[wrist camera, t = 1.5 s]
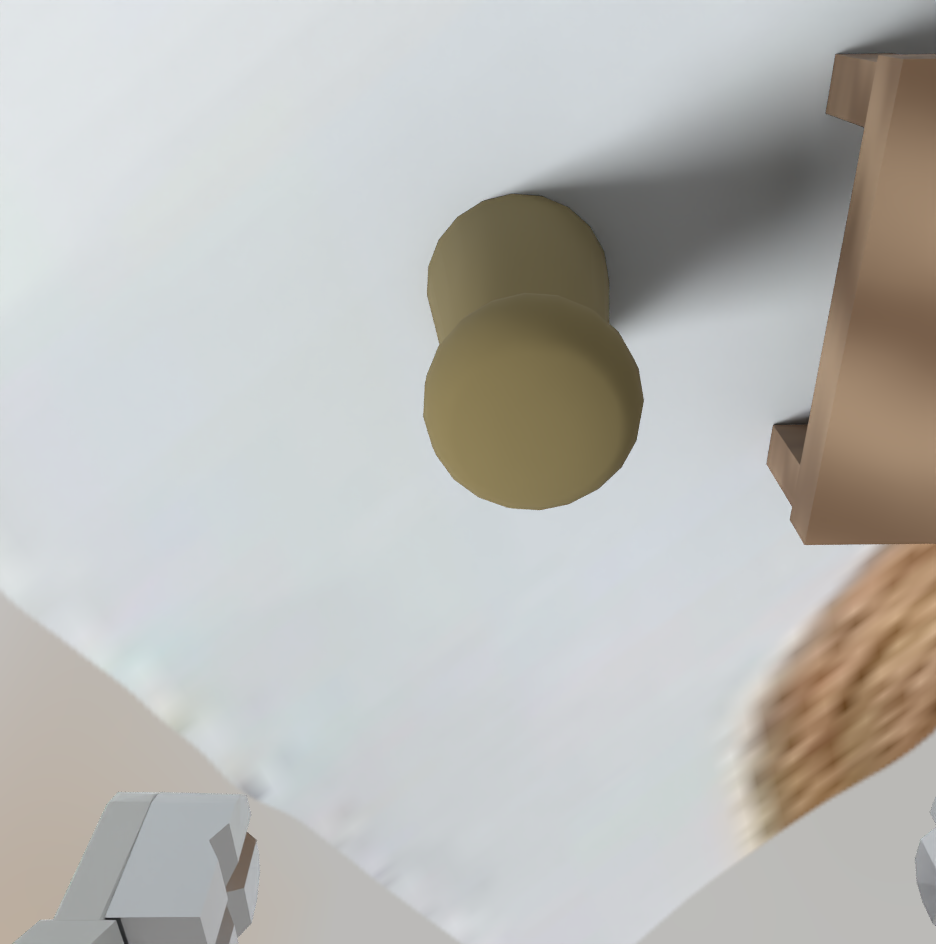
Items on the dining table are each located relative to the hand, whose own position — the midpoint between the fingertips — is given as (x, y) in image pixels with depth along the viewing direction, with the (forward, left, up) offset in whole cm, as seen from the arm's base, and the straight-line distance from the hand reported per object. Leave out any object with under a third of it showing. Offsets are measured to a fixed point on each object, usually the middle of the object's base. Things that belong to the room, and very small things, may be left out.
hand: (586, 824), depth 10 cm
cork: (0, 0, -21) cm, 21 cm away
